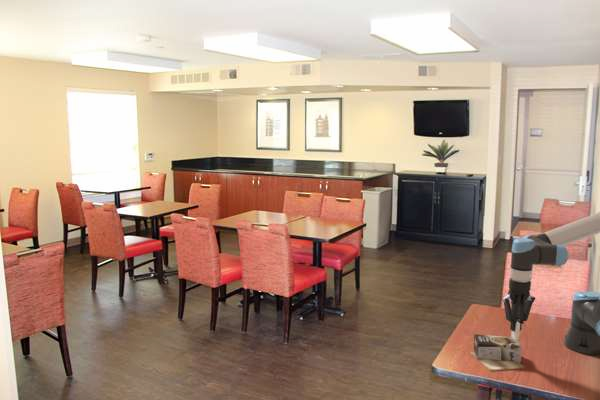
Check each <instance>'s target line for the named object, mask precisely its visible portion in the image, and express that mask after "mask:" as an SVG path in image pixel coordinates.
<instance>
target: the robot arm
mask: <svg viewBox="0 0 600 400" xmlns="http://www.w3.org/2000/svg"><path fill="white" fill-rule="evenodd" d="M598 234H600V211H598V212H596V213H593V214H591V215H587V216H585V217H583V218H580V219H578V220H575V221H574V220H573V222H569V223H567V224H564V225H561V226H559V227H556V228H553V229H551V230H547V231H546V232H543V233H540V234H537V235H534V234H527V235H525V236H523V237H517V238H514V240H513V242H512V244H511V245H512V246H511V256H510V257H511V261H510V267H509V268H510V269H509V277H510V278H509V279H508V288H509V289H508V291H507V295H506V296H502V297H501V300H502V303H503V305H504V306H503V307H504V314H505V319H506V320H507V321H509V322H510V327H509V328H510V331H511V334H510V335H511V336H510V337H512V338H513V339H515V340H518V341H519V340H520V331H521V330H522V325H524V323H525V322H527V321H528V318H529V315H530V313H531V309H532V306H533V304H534V302H535V300H536V297H535V296H533V295H532V294H531V293H530V291H531V289H532V287H531V286H532V285H531V284H532V278H533V268H534V267H533V266H534V265H535V266H555V267H556V266H564V265H565V264H566V263H567V262H568V259H569V252H568V249H567V248H566V246H567V245H570V244H571V245H572V244H573V243H576V242H579V241H581V240H584V239H587V238H589V237H593V236H594V235H598ZM571 305H572V306H571V307H572V308H571V316H570V326H569V328H568V330H567V331H566V334H565V335H564V337H563V339H564V340H563V344H564V345H565V347H567V348H568V349H570V350H572V351H575V352H577V353H581V354H585V355H590V356H591V355H592V356H593V355H594V356H595V355H596V356H598V355H600V292H595V291H585V290H584V291H577V292H574V294H573V297H572V304H571Z"/></svg>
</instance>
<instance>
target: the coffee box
mask: <svg viewBox="0 0 600 400" xmlns="http://www.w3.org/2000/svg"><path fill="white" fill-rule="evenodd" d="M473 352H475V354H476V356H477V358H480V359H490V360H501V361H512V362H519V363H521V362H522V352H523V347H522V345H521V344H520V342H519V340H515V339H513V338H512V337H511V336H501V335H488V334H486V335H485V334H473Z"/></svg>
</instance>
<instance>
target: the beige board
mask: <svg viewBox="0 0 600 400" xmlns="http://www.w3.org/2000/svg"><path fill="white" fill-rule="evenodd" d="M470 355H471V356H472V357H474V359H475V360H477V362H479V363H480V364H482V366H484V367H485V368H486V369H487V370H488V371H489V372H492V371H505V370H506V371H507V370H514V369H525V366H524V365H523V364H521V362H512V361H501V360H490V359H480V358H477V356H476V354H475V351H471V352H470Z"/></svg>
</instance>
